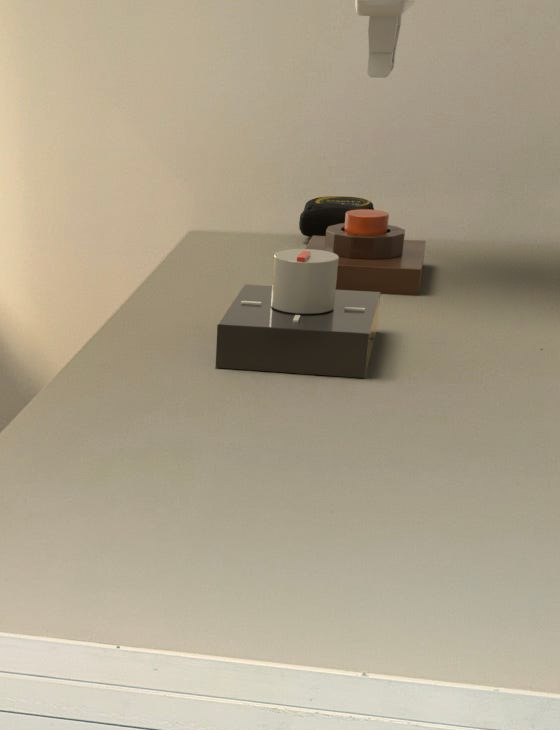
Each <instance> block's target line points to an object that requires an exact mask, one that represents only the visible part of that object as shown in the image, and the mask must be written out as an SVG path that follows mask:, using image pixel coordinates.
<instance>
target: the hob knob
mask: <svg viewBox="0 0 560 730" xmlns="http://www.w3.org/2000/svg"><path fill="white" fill-rule="evenodd" d="M338 263H339V256H338V255H337V254H335V253H332V252H328V251H323V250H314V249H305V248H294V249H285V250H280V251H277V252H275V253H274V255H273V268H272V280H271V281H272V282H271V283H272V284H271V286H272V296H271V306H272V307H273V308H274V309H276V310H279V311H283V312H288V313H295V314H318V313H324V312H328V311H331V310H333V309H334V307H335V297H336V285H337V274H338Z"/></svg>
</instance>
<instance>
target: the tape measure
mask: <svg viewBox="0 0 560 730" xmlns="http://www.w3.org/2000/svg"><path fill="white" fill-rule="evenodd" d="M361 209H366V210H375V207H374V203H373V202H372V201H371V200H369V199H367V198H363V197H356V196H345V195H344V196H343V195H329V196H319V197H315V198H311V199H310V200H308V201H307V202H306V203H305V205H304V208H303V210H302V212H301V213H300V215H299V222H298V228H299V231H300V233H301V235H303V236H304V237H308V238H311V237H312V236H326V230H327V228H328V226H332V225H336V224H341V223H345V215H346V212H347V211H350V210H361Z"/></svg>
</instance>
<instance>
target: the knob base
mask: <svg viewBox="0 0 560 730" xmlns="http://www.w3.org/2000/svg"><path fill="white" fill-rule="evenodd" d="M271 296H272V285H262V284H261V285H260V284H244V285H243V286H242V288H240V291H239V292H238V294H237V295H236V297H234V299H233V301H232V302H231V304H230V305H229V307H228V308H227V310H226V311H225V313H224V314H223V315H222V317H221V319H220V320H219V321H218V323H217V325H216V346H215V368H216V369H229V370H240V371H241V370H243V371H254V372H255V371H256V372H257V371H258V372H269V373H270V372H272V373H283V374H284V373H285V374H286V373H287V374H297V375H298V374H299V375H313V376H327V377H339V378H341V377H342V378H355V379H356V378H357V379H366V375H367V371H368V367H369V363H370V359H371V355H372V351H373V348H374V343H375V339H376V336H377V331H378V322H379V313H380V312H379V311H380V304H381V303H380V302H381V294H380V292H369V291H352V290H336V297H335V307H334V309H333V310H331V311H328V312H324V313H318V314H295V313H288V312H283V311H279V310H276V309H274V308H273V307H272V306H271Z"/></svg>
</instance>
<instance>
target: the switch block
mask: <svg viewBox="0 0 560 730" xmlns="http://www.w3.org/2000/svg"><path fill="white" fill-rule="evenodd" d="M344 227H345V223H341V224H336V225H332V226H328V228H327V230H326V236H312V237H310V239H309V241H308V243H307V245H306V246H305V248H304V249H314V250H323V251H328V252H332V253H335V254H337V255H338V256H339V263H338V274H337V285H336V290H352V291H369V292H380V295H393V296H395V295H396V296H411V297H418V296H419V292H420V288H421V287H420V285H421V281H422V280H421V279H422V273H423V269H424V268H423V267H424V260H425V259H424V258H425V251H426V244H427V242H426V240H415V239H405V236H406V229H405V228H401V227H400V226H397V225H392V224H388V229H387V233H385V234H374V235H365V234H353V233H347V232H344Z"/></svg>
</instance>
